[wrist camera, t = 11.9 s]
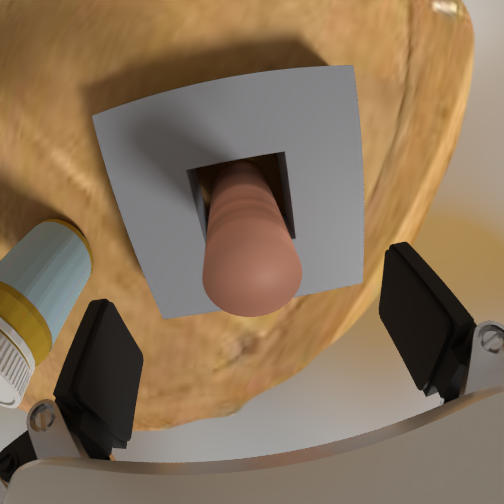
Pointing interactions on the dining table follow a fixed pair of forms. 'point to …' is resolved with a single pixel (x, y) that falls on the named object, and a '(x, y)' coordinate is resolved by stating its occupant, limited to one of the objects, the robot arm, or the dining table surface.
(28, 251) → the bottle
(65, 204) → the dining table surface
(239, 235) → the peg
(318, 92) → the socket block
